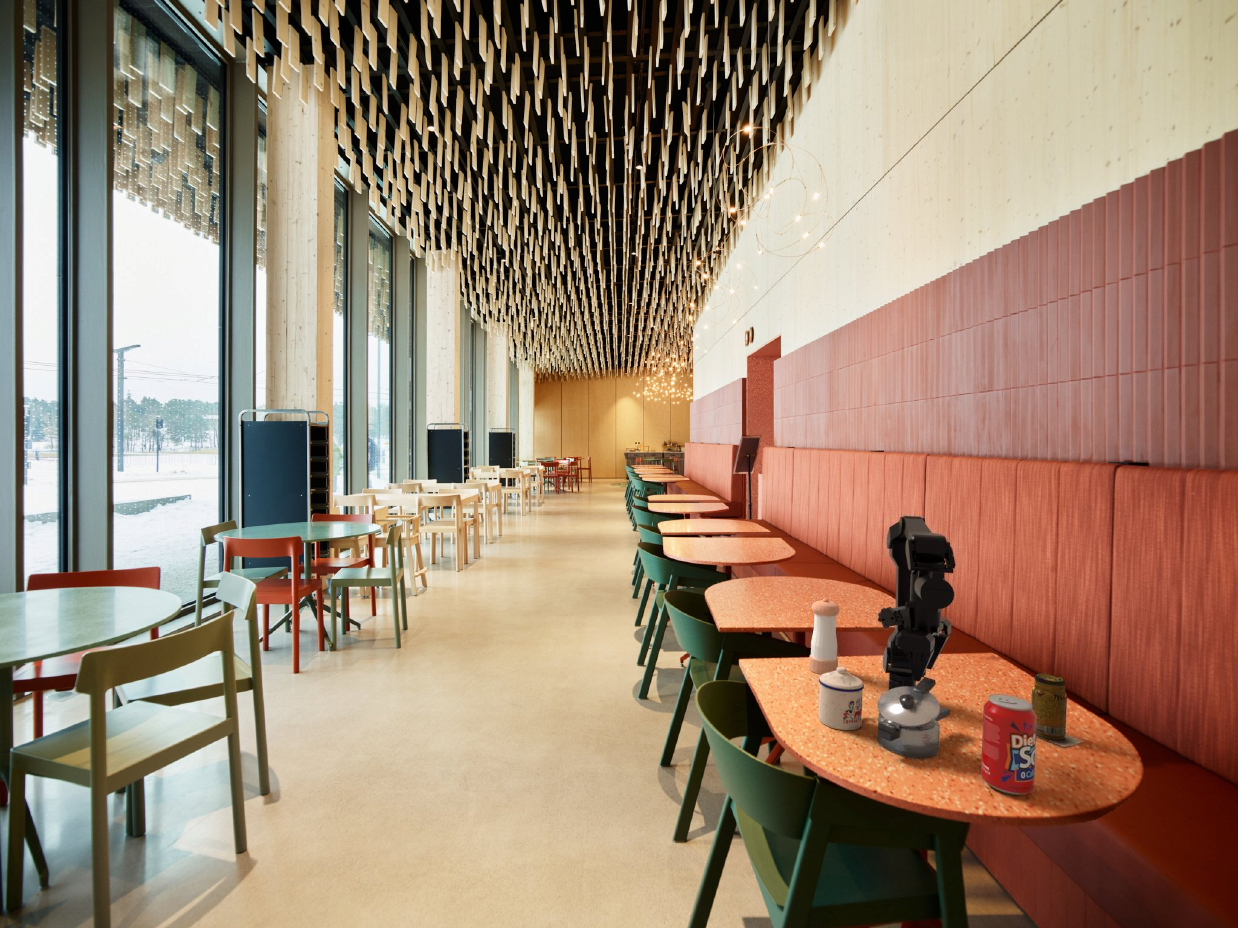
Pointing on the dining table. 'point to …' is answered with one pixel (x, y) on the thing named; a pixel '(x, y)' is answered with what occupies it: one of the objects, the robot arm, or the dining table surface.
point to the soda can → (1009, 744)
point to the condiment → (1051, 710)
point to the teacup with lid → (840, 700)
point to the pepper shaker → (824, 637)
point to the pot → (912, 737)
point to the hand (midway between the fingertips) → (922, 674)
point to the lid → (909, 705)
